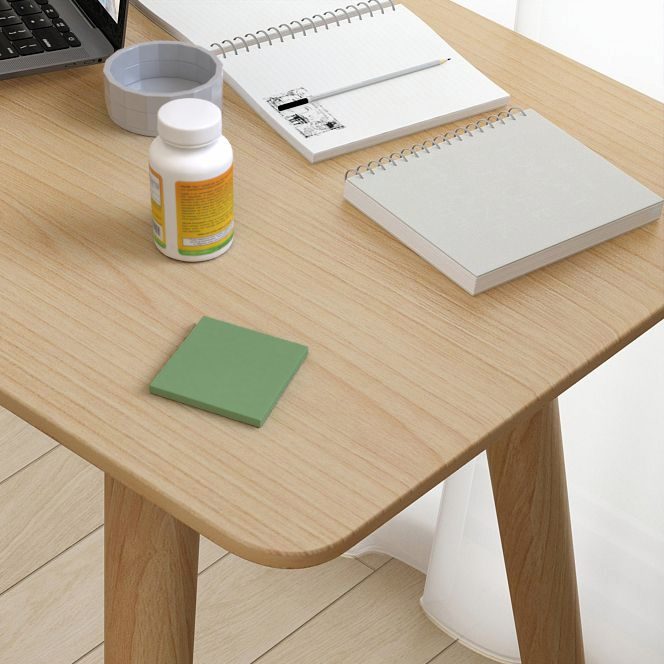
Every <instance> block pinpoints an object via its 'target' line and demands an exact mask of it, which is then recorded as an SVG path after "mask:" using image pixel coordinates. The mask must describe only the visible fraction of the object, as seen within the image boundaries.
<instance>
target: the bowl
mask: <svg viewBox="0 0 664 664" xmlns="http://www.w3.org/2000/svg"><path fill="white" fill-rule="evenodd" d="M102 78H103V89H104V100H105V102H104V103H105V106H106V111H107V114H108V117H109V119H110V120H111V121H112V122H113V123H114V124H115V125H116V126H118V127H119V128H121V129H123V130H125V131H127V132H130V133H133V134H137V135H141V136H145V137H153V138H156V137H157V136H158V135H159V133H158V130H157V126H158V124H157V114H158V111H159V109H160V108H161V107H162V106H163V105H164V104H166V103H168V102H170V101H173V100H177V99H183V98H196V99H202V100H206V101H209V102H211V103H213V104H215V105H216V106H217V107H218V108H219V109H220V111H221V115H222V114H223V109H224V65H223V62H222V61H221V60H220V58H219V57H218V56H217V55H216V53H214V52H212V51H211V50H209V49H207V48H205V47H204V46H201V45H198V44H193V43H190V42H186V41H181V40H151V41H144V42H137V43H133V44H131V45H128V46H126V47H123V48H120V49H117V50H116V51H115V52H113V53H112V54H111V55H110V56H109V57H108V58H106V59H105V62H104V65H103V69H102Z"/></svg>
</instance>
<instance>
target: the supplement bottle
mask: <svg viewBox="0 0 664 664" xmlns="http://www.w3.org/2000/svg"><path fill="white" fill-rule="evenodd" d="M222 116H223V115H222V114H221V111H220V109H219V108H218V107H217V106H216V105H215V104H213V103H211V102H209V101H206V100H202V99H196V98H183V99H177V100H173V101H170V102H168V103H166V104H164V105H163V106H162V107H161V108H160V109H159V111H158V114H157V124H158V126H157V130H158V133H159V135H158V136H157V137H154V139H153V141H152V142H151V143H150V146H149V149H148V172H149V173H148V174H149V175H148V176H149V190H150V191H149V192H150V206H151V208H150V209H151V225H152V235H153V242H154V245H155V247H156V248H157V249H158V251H160V252H161V253H162V254H163V255H164V256H166V257H168V258H171V259H174V260H177V261H182V262H191V263H192V262H204V261H208V260H209V261H210V260H212V259H213V260H214V259H215V258H217V257H219V256H222V255H223V254H224V253H225V252H227V251H228V250H229V249H230V247H231V246H232V244H233V241H234V236H235V226H234V225H235V222H234V221H235V219H234V216H235V215H234V213H235V211H234V207H235V206H234V152H233V148H232V147H233V146H232V145H231V143H230V142H229V140H228V139H227V137H225V136H224V135H223V134H222V133H223V117H222Z"/></svg>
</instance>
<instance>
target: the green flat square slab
mask: <svg viewBox="0 0 664 664" xmlns="http://www.w3.org/2000/svg"><path fill="white" fill-rule="evenodd" d="M308 354H309V346H308V345H304V344H301V343H297V342H295V341H291V340H288V339H284V338H280V337H277V336H274V335H270V334H268V333H264V332H260V331H256V330H254V329H250V328H247V327H244V326H241V325H237V324H233V323H230V322H227V321H224V320H220V319H217V318H214V317H211V316H207V315H203V316H202V317H201V318H200V320H199V321H198V322H197V323H196V325H195V326H194V327H193V328H192V330H191V331H190V333H188V335H187V336H186V338H185V339H184V340H183V341H182V343H181V344H180V345H179V346H178V347H177V348H176V351H174V353H173V354H172V355H171V356H170V358H169V359H168V360H167V362H166V363H165V365H164V366H163V367H162V368H161V370H160V371H159V372H158V373H157V375H156V376H155V377H154V378H153V380H152V381H151V382H150V384H149V385H148V387H149V394H153V395H155V396H159V397H161V398H165V399H168V400H171V401H175V402H178V403H181V404H184V405H187V406H191V407H194V408H197V409H200V410H203V411H206V412H208V413H209V412H210V413H213V414H216V415H219V416H221V417H225V418H228V419H231V420H234V421H238V422H241V423H243V424H246V425H251V426H252V427H253V426H254V427H256V428H261V427H262V426H263V424H264V423H265V421H266V420H267V418H268V417H269V415H270V414H271V412H272V410H273V409H274V407H275V406H276V404H277V403H278V401H279V400H280V398H281V396H282V395H283V393H285V390H286V389H287V388H288V386H289V384H290V383H291V381H292V379H293V378H294V376H295V375H296V373H297V372H298V370H299V369H300V367H301V365H302V364H303V363H304V361H305V360H306V358H307V356H308Z"/></svg>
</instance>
